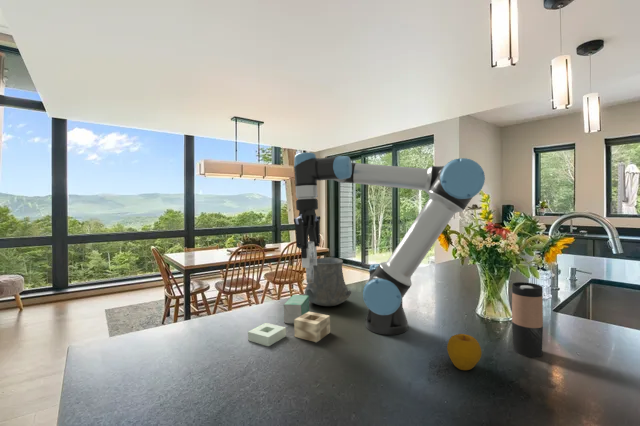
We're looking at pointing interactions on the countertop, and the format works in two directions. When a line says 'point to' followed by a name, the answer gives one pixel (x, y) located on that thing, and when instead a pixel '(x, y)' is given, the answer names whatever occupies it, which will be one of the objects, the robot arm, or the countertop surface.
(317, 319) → the block
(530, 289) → the travel mug
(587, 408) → the countertop surface
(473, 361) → the apple
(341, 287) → the vessel
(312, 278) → the silver peg
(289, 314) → the box
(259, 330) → the stand
